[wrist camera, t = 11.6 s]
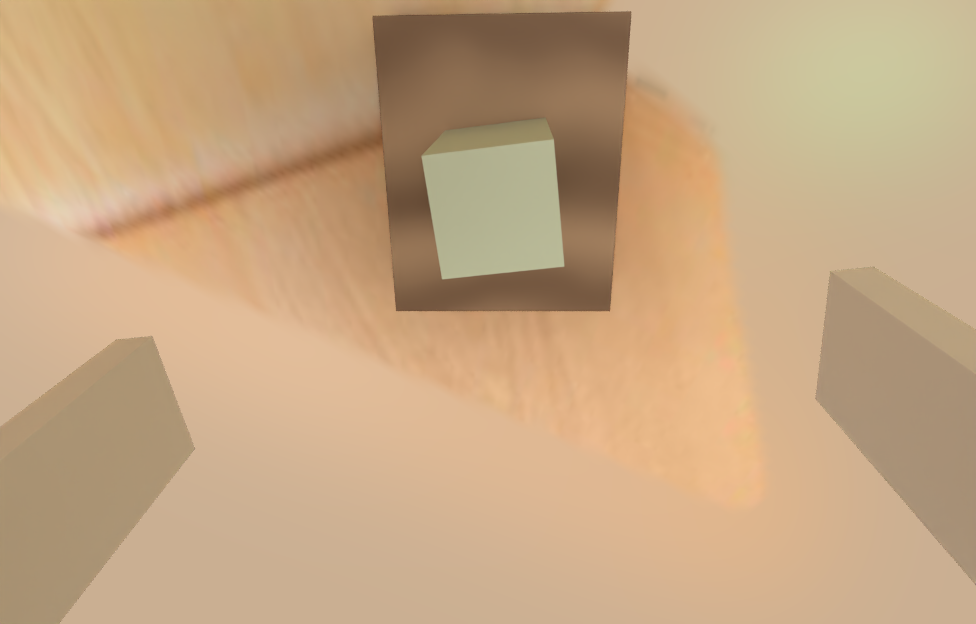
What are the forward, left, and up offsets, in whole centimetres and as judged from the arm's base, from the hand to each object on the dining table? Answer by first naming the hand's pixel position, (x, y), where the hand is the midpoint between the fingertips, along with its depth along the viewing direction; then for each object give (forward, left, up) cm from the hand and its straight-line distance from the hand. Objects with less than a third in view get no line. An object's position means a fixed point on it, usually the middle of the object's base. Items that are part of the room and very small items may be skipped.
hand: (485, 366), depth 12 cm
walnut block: (0, 0, -26) cm, 26 cm away
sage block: (0, 0, -21) cm, 21 cm away
